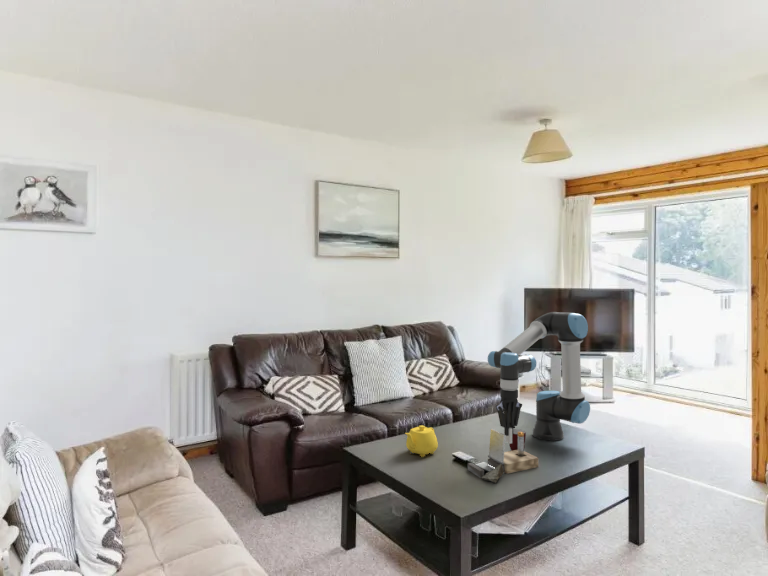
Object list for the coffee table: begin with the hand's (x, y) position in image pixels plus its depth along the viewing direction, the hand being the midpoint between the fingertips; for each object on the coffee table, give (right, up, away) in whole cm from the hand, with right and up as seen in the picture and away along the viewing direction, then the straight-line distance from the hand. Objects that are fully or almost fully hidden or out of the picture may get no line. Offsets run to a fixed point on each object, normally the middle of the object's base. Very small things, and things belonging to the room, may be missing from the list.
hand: (508, 442), depth 217 cm
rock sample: (-10, -11, -14) cm, 21 cm away
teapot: (-38, -11, +17) cm, 42 cm away
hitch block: (-3, -11, -1) cm, 11 cm away
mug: (+8, -10, +16) cm, 21 cm away
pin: (+6, -10, +3) cm, 12 cm away
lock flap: (-6, -7, -3) cm, 9 cm away
